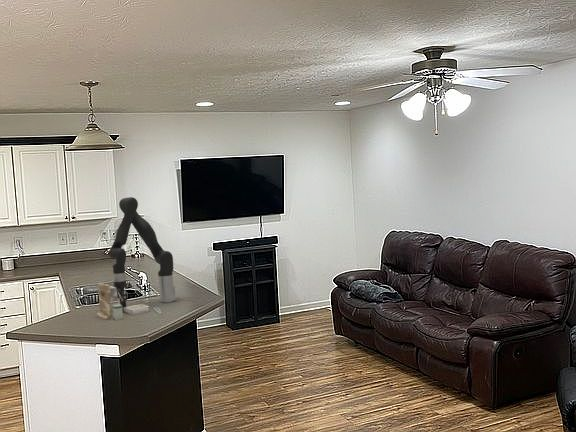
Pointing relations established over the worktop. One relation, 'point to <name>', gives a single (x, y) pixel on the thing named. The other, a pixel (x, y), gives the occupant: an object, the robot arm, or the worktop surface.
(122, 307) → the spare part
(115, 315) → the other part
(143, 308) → the tray
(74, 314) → the worktop surface
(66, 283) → the worktop surface
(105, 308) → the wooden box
